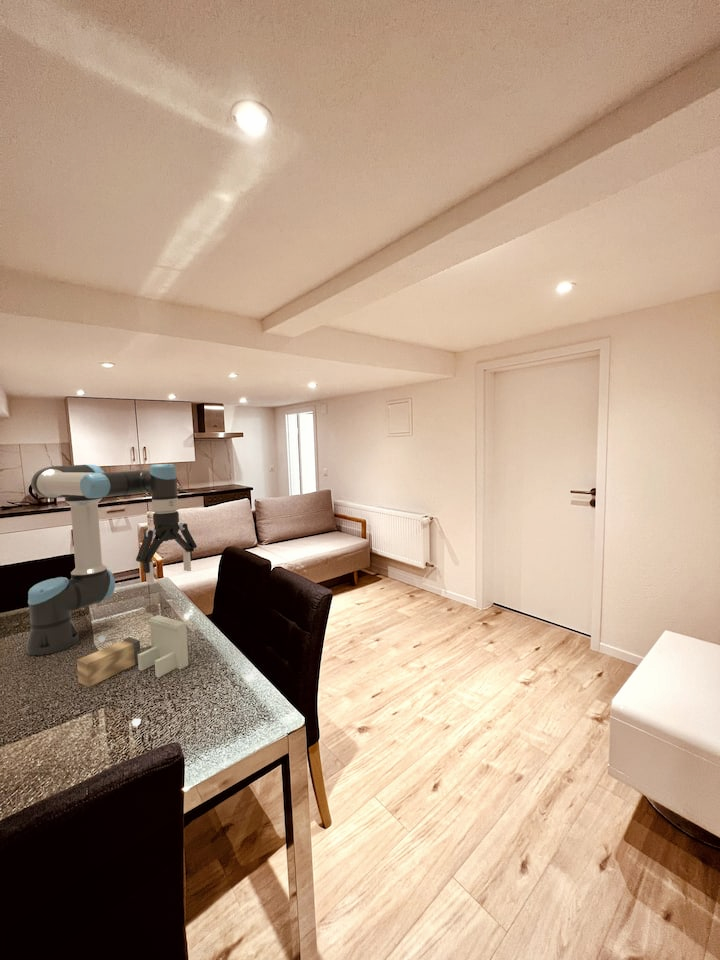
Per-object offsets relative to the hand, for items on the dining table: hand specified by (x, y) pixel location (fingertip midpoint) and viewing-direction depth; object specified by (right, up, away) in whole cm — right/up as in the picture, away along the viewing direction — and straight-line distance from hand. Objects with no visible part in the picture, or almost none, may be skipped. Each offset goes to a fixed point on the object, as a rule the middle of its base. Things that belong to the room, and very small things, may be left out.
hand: (169, 576), depth 131 cm
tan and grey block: (-16, -29, -5) cm, 33 cm away
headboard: (-1, -28, -3) cm, 28 cm away
